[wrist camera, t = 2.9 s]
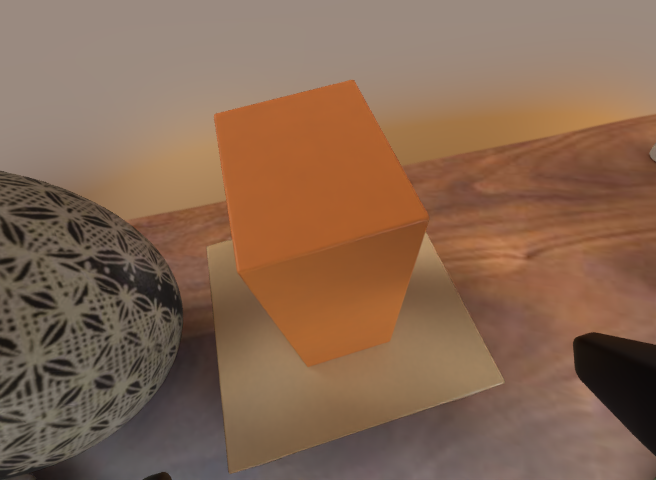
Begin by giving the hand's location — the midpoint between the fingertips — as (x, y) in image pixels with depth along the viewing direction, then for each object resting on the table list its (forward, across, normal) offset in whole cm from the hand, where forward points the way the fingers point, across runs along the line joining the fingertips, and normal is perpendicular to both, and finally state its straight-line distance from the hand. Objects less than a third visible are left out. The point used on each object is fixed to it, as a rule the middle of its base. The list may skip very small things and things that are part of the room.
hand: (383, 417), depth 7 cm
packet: (+9, 0, +2) cm, 9 cm away
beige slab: (+13, 0, +5) cm, 14 cm away
